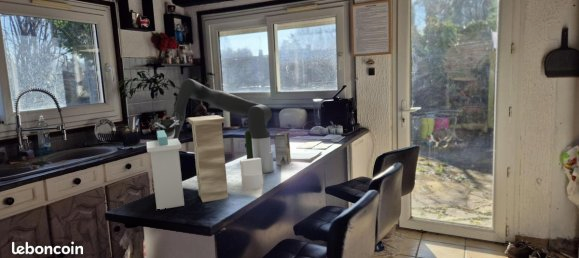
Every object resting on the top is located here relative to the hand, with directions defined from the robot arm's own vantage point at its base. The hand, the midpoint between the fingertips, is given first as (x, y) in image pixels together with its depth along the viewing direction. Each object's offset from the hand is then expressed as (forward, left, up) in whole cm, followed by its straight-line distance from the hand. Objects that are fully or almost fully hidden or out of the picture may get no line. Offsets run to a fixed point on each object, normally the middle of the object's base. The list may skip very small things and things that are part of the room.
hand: (167, 115), depth 179 cm
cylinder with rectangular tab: (-31, +24, -33) cm, 51 cm away
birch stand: (-13, +29, -32) cm, 46 cm away
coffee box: (-58, -12, -33) cm, 68 cm away
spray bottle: (-48, -32, -33) cm, 66 cm away
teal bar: (+4, +23, -8) cm, 25 cm away
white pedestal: (+4, +29, -32) cm, 44 cm away
